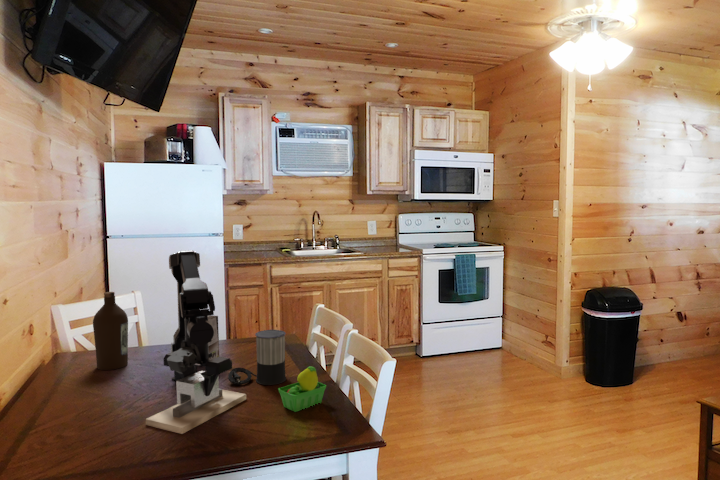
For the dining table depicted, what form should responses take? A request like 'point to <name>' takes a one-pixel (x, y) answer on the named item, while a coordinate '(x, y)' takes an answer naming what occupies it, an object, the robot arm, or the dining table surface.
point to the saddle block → (195, 390)
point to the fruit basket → (303, 391)
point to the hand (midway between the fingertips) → (198, 393)
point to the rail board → (194, 412)
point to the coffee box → (214, 338)
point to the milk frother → (266, 360)
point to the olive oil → (111, 335)
